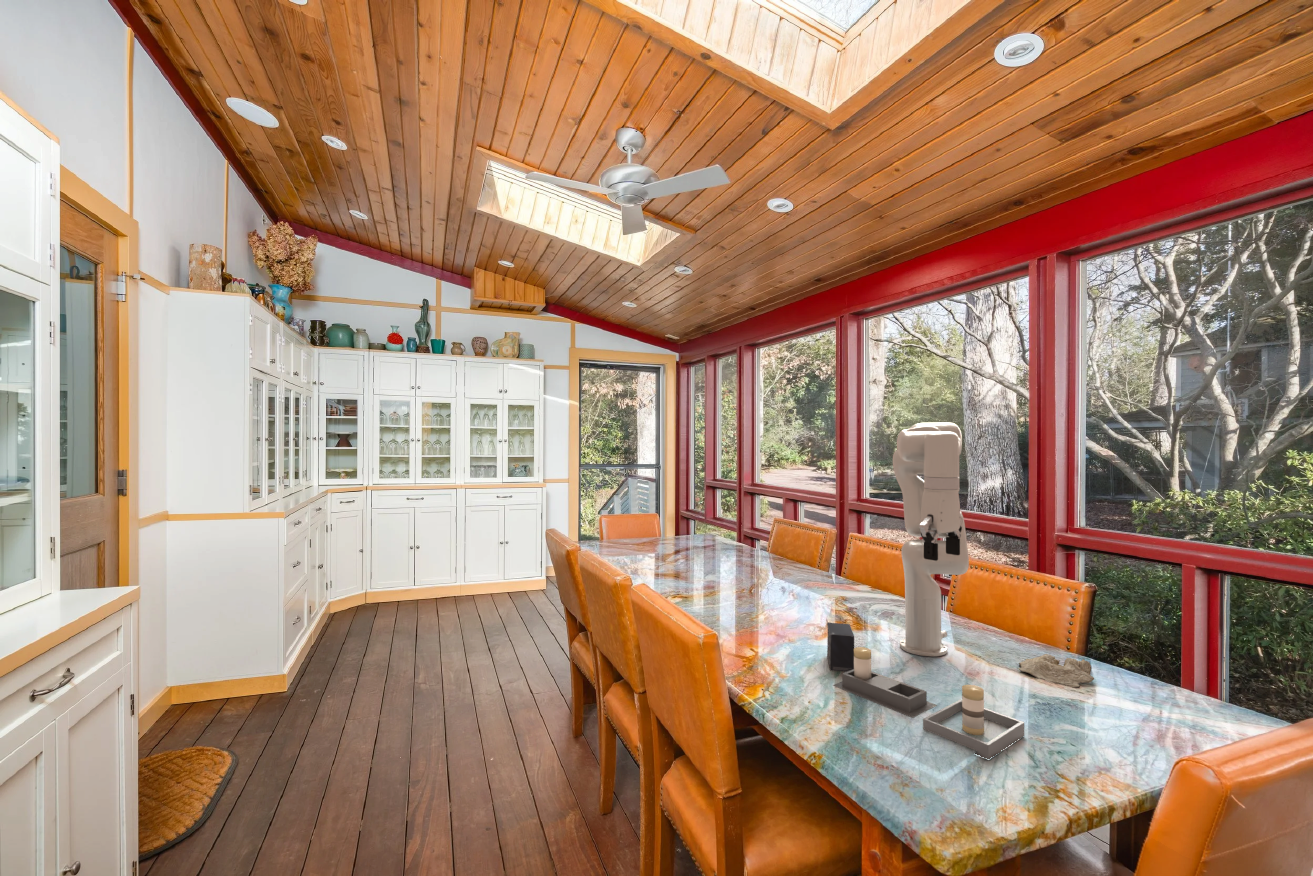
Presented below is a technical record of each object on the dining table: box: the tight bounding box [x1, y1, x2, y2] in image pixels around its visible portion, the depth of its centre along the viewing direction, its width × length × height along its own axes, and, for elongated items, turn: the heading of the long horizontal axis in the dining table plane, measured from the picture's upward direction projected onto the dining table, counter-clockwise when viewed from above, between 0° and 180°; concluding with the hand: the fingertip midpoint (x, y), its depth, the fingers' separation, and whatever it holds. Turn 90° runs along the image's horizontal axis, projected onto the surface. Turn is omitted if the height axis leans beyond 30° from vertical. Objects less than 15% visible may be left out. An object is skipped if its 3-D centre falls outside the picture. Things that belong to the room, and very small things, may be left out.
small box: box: [826, 621, 855, 672], centre depth 160 cm, size 11×6×10 cm, turn 168°
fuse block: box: [832, 669, 938, 719], centre depth 141 cm, size 10×21×4 cm, turn 36°
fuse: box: [854, 646, 872, 681], centre depth 145 cm, size 4×4×9 cm
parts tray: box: [922, 698, 1025, 759], centre depth 124 cm, size 15×13×3 cm
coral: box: [1017, 653, 1095, 689], centre depth 155 cm, size 18×16×5 cm
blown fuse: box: [961, 684, 985, 736], centre depth 124 cm, size 4×4×9 cm
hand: (942, 557), depth 141 cm, fingers open, 9 cm apart
